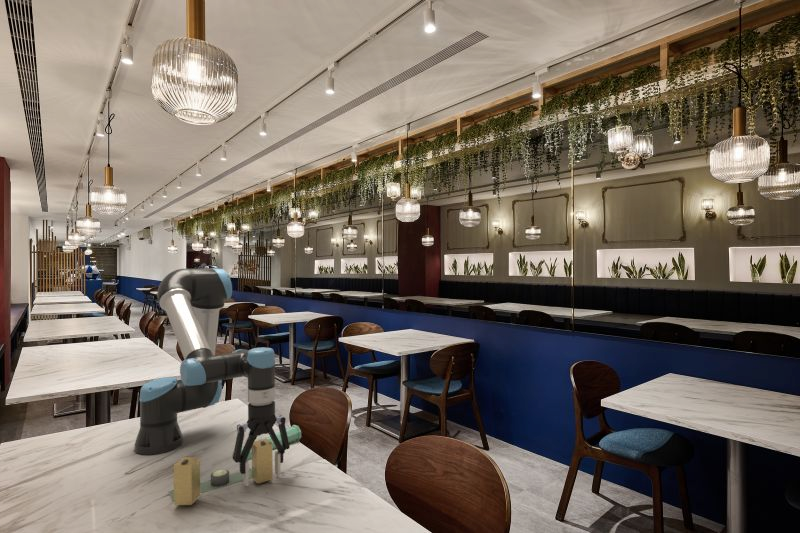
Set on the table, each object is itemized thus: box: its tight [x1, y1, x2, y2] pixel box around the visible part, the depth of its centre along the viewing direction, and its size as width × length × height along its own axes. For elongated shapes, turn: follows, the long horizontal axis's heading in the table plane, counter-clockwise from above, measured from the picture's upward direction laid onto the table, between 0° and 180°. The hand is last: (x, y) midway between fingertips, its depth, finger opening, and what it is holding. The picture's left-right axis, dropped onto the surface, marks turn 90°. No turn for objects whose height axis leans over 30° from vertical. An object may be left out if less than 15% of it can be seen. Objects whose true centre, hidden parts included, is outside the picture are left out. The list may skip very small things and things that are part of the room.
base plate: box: [168, 468, 252, 502], centre depth 126 cm, size 12×26×4 cm, turn 126°
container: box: [241, 424, 302, 461], centre depth 153 cm, size 6×6×25 cm
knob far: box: [251, 438, 274, 484], centre depth 129 cm, size 5×5×12 cm
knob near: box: [173, 456, 201, 507], centre depth 117 cm, size 5×5×12 cm
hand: (262, 478), depth 129 cm, fingers open, 9 cm apart
